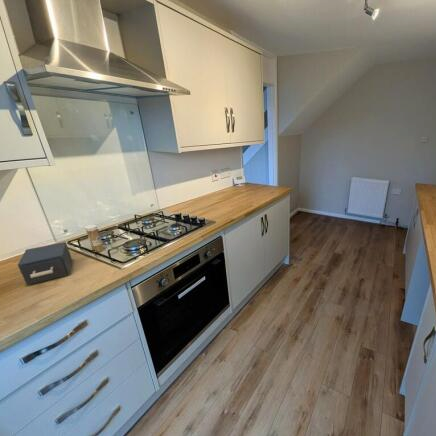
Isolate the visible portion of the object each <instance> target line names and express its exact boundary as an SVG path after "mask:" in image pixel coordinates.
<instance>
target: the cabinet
mask: <svg viewBox="0 0 436 436" xmlns="http://www.w3.org/2000/svg"><path fill="white" fill-rule="evenodd" d="M59 257H60V258H61V259H62V262H63V264H64V267H65V270H66V272H67V275H64V276H60V277H56V278H52V279H48V280H44V281H40V282H36V283H32V284H27V282H26V280H25V277H24V275H23V273H22V271H21V269H20V267H21V266H24V265H27V264H32V263H36V262H41V261H45V260H50V259H54V258H59ZM72 265H73V258H72V255H71V252H70V249H69V247H68V244H67V242H66V241H64V242H58V243H53V244H47V245H42V246H37V247H32V248H27V249H25V251H24V253H23V254H22V256H21V258H20V260H19V261H18V262H17V267H18V269H19V271H20V273H21V275H22V277H23V280H24V282H25V284H26V286H30V285H31V286H32V285H35V284H39V283H43V282H47V281H51V280H55V279H59V278H63V277H66V276H70V275H71V270H72Z"/></svg>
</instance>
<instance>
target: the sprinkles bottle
mask: <svg viewBox="0 0 436 436" xmlns="http://www.w3.org/2000/svg"><path fill="white" fill-rule="evenodd" d="M84 229H85V232H86V233H87V238H88V241H89V244H90V247H91V249H92V252H93V253H99V252H102V251H104V246H103V243H102V239H101V236H100V233H99V227H98V225H97V224H89V225H86V226H84ZM93 250H95V251H93Z"/></svg>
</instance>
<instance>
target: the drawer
mask: <svg viewBox="0 0 436 436" xmlns="http://www.w3.org/2000/svg"><path fill="white" fill-rule="evenodd" d="M20 269H21V271H22V273H23V275H24V277H25V280H26V282H27V284H31V285H33V284H32V283H35V284H37V283H36V282H39V283H41V282H40V281H43V282H45V281H44V280H47V281H49V280H48V279H51V280H53V279H52V278H55V279H57V278H56V277H59V278H61V277H60V276H63V277H65V276H64V275H67V272H66V270H65V267H64V264H63V262H62V259H61V258H60V257H59V258H54V259H50V260H45V261H41V262H36V263H32V264H27V265H24V266H21V267H20ZM20 269H19V270H20ZM21 271H20V272H21ZM22 273H21V274H22ZM23 275H22V276H23ZM67 276H68V275H67ZM25 280H24V281H25ZM26 282H25V283H26ZM27 284H26V285H27Z"/></svg>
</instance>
